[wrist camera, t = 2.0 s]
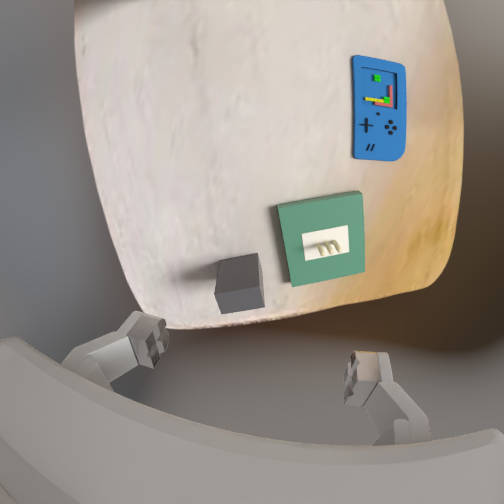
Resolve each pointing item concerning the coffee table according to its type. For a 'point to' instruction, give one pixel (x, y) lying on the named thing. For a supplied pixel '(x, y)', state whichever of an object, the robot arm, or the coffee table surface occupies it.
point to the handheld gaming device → (379, 109)
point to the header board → (323, 237)
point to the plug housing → (239, 284)
